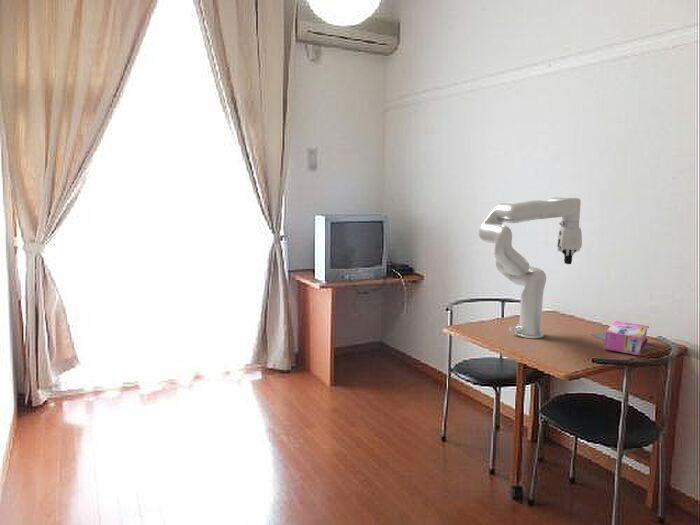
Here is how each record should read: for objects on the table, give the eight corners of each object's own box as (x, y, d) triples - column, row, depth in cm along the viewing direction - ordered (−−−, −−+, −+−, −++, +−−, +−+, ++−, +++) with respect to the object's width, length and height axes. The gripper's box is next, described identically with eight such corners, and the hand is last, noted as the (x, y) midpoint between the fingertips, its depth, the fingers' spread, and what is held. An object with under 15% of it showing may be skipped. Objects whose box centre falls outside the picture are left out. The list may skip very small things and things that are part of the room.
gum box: (615, 319, 248) (649, 324, 240) (614, 336, 249) (647, 341, 242) (605, 331, 229) (641, 337, 221) (603, 349, 230) (639, 356, 222)
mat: (625, 350, 231) (625, 349, 231) (591, 334, 254) (591, 333, 254) (654, 348, 233) (654, 347, 233) (618, 333, 256) (618, 332, 256)
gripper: (559, 225, 249) (557, 265, 251) (589, 225, 251) (587, 264, 254) (551, 224, 256) (548, 262, 259) (580, 223, 258) (577, 262, 261)
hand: (567, 263), depth 256 cm, fingers closed
